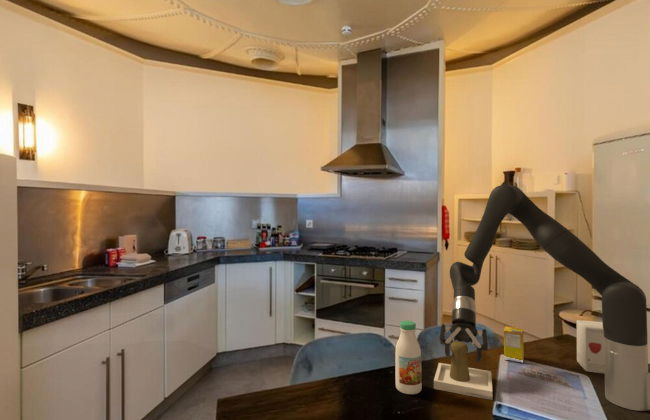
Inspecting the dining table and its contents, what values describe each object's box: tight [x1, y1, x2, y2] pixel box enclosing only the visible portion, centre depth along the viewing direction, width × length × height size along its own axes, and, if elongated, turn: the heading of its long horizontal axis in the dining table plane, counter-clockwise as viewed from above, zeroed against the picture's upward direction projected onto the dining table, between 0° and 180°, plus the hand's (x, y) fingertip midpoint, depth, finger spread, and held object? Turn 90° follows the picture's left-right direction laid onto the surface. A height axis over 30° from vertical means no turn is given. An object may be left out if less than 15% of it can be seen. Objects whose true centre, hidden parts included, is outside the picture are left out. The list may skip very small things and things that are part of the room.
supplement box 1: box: [503, 326, 525, 361], centre depth 124 cm, size 6×6×11 cm
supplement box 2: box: [576, 319, 605, 375], centre depth 116 cm, size 9×9×15 cm
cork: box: [450, 340, 470, 382], centre depth 108 cm, size 6×6×11 cm
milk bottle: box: [394, 320, 423, 395], centre depth 104 cm, size 8×8×20 cm
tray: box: [433, 362, 493, 401], centre depth 106 cm, size 16×14×2 cm
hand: (462, 359), depth 106 cm, fingers open, 8 cm apart
